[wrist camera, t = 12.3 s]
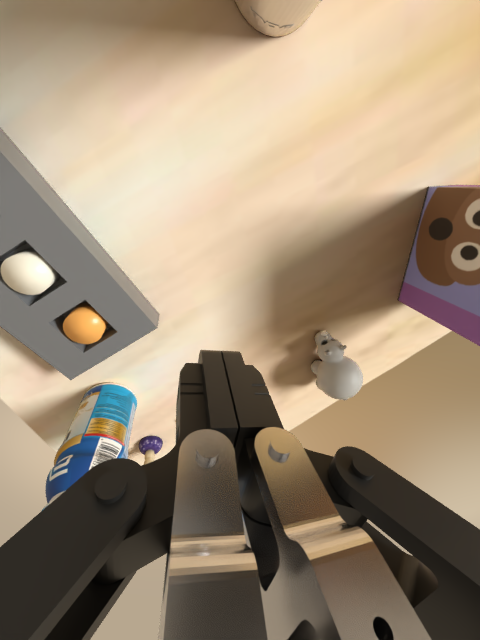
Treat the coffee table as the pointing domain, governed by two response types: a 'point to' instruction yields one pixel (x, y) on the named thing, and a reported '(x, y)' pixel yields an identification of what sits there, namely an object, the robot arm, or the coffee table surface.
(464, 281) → the cereal box
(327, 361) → the round bodied animal figurine
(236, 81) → the coffee table surface
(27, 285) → the cream button
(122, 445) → the beverage bottle
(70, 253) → the button panel
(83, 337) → the orange button
